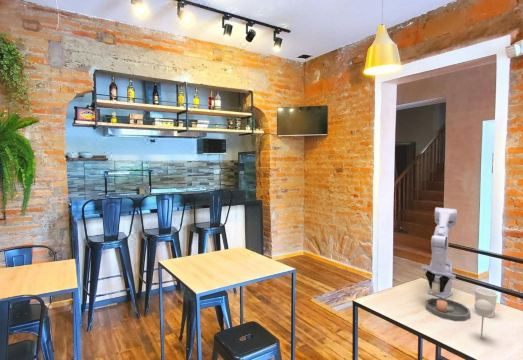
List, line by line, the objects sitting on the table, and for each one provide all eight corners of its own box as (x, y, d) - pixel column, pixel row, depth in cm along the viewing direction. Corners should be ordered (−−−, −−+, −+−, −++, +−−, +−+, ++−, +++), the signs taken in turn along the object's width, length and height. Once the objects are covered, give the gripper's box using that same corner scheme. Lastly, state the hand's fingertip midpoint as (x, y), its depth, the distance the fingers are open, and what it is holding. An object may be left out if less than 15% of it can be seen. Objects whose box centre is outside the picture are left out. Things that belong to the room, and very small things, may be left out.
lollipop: (491, 344, 117) (494, 305, 116) (472, 339, 120) (475, 301, 119) (490, 336, 122) (492, 299, 121) (471, 331, 125) (474, 295, 124)
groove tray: (437, 299, 154) (438, 295, 154) (476, 313, 140) (477, 309, 140) (418, 307, 145) (418, 303, 144) (458, 324, 130) (458, 320, 130)
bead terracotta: (439, 309, 142) (439, 298, 142) (448, 313, 139) (449, 302, 138) (434, 311, 140) (435, 301, 139) (443, 315, 137) (444, 304, 136)
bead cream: (434, 290, 149) (435, 280, 148) (443, 293, 145) (443, 282, 145) (429, 292, 146) (430, 281, 146) (438, 295, 143) (439, 284, 143)
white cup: (496, 313, 141) (498, 291, 140) (494, 320, 135) (495, 297, 134) (475, 307, 146) (477, 286, 145) (472, 313, 140) (473, 291, 139)
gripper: (418, 258, 149) (416, 286, 150) (450, 267, 137) (448, 297, 138) (426, 255, 153) (424, 283, 154) (458, 264, 141) (456, 294, 142)
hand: (436, 289), depth 146 cm, fingers closed on bead cream, 4 cm apart
